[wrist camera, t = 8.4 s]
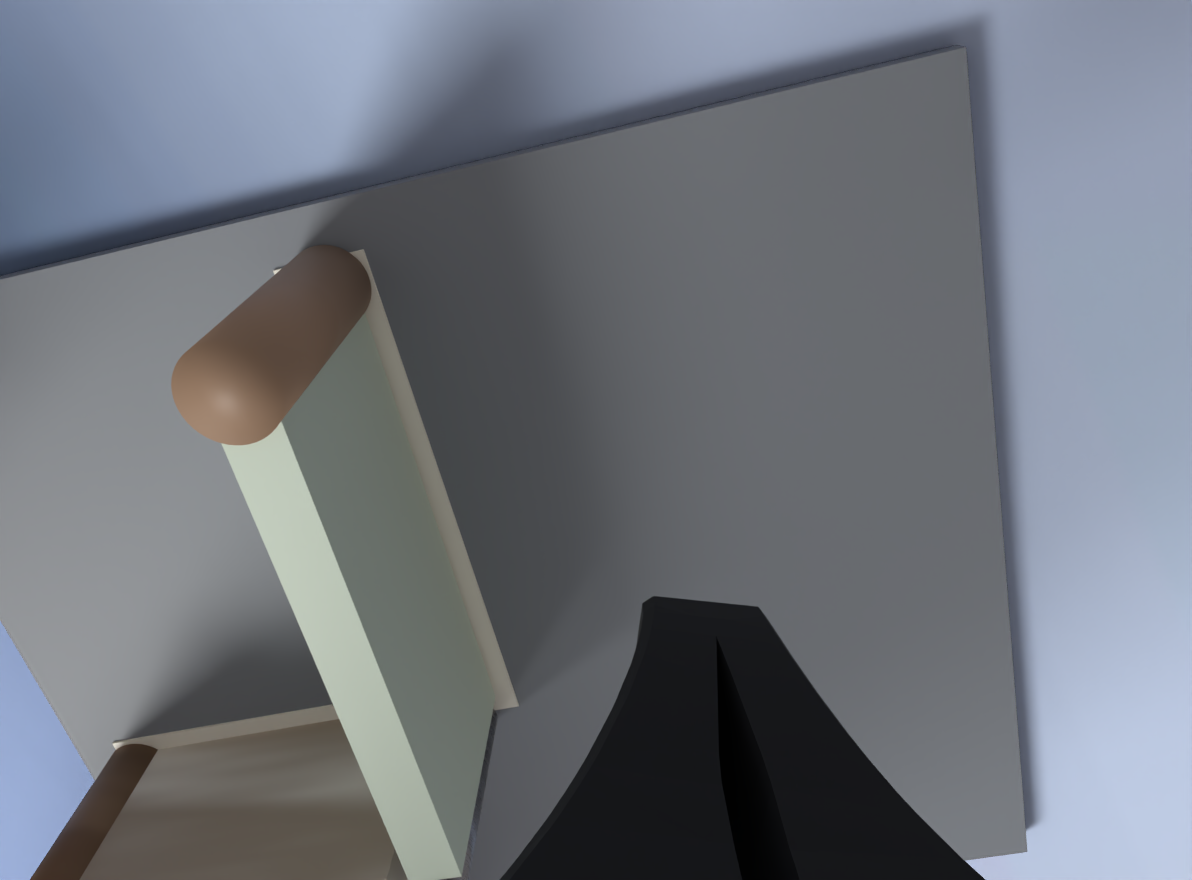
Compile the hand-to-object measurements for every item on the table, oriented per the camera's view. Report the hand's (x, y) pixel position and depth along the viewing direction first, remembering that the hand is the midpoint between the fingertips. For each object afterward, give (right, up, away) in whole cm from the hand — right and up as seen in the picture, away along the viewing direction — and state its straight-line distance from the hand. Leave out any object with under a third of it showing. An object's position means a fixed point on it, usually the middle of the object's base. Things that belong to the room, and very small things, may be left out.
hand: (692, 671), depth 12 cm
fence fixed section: (-9, -5, +12) cm, 16 cm away
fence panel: (-5, +1, +9) cm, 11 cm away
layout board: (-3, -1, +11) cm, 12 cm away
